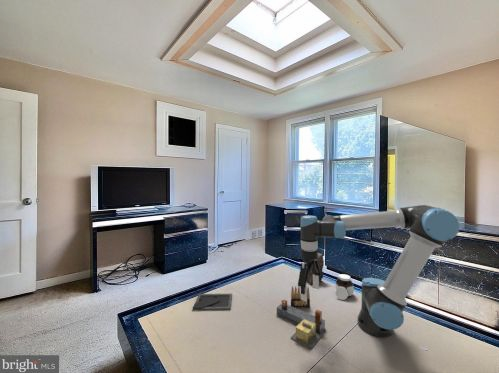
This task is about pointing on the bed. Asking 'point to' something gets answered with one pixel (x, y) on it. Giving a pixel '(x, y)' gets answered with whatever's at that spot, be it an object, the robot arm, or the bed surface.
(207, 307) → the picture frame
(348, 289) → the spread jar
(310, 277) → the brown rock
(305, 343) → the felt mat
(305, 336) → the lever cap
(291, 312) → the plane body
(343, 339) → the bed surface
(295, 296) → the ammunition clip
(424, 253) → the robot arm
